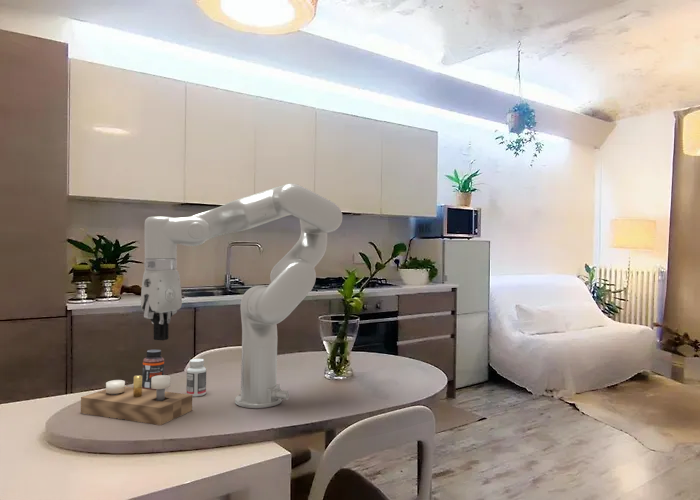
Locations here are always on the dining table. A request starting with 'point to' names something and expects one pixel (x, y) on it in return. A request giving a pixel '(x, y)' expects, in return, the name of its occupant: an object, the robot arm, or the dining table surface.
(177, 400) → the mount
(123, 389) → the knob far
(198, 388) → the pill bottle
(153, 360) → the supplement bottle
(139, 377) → the brass stem
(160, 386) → the knob near
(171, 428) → the dining table surface
